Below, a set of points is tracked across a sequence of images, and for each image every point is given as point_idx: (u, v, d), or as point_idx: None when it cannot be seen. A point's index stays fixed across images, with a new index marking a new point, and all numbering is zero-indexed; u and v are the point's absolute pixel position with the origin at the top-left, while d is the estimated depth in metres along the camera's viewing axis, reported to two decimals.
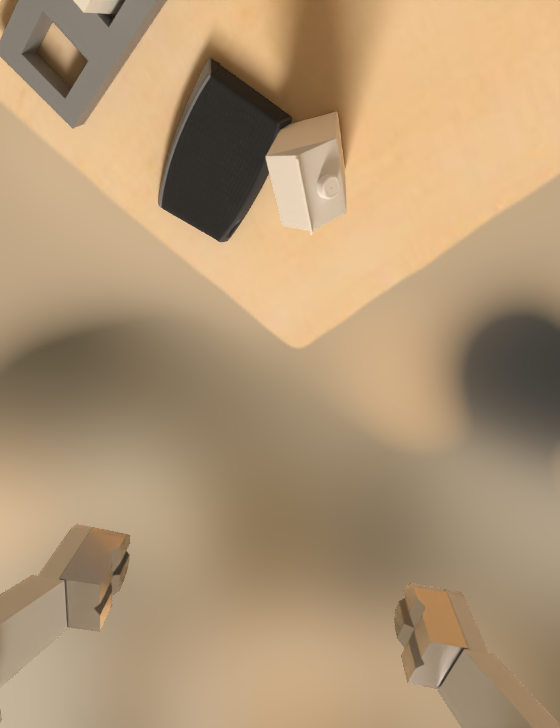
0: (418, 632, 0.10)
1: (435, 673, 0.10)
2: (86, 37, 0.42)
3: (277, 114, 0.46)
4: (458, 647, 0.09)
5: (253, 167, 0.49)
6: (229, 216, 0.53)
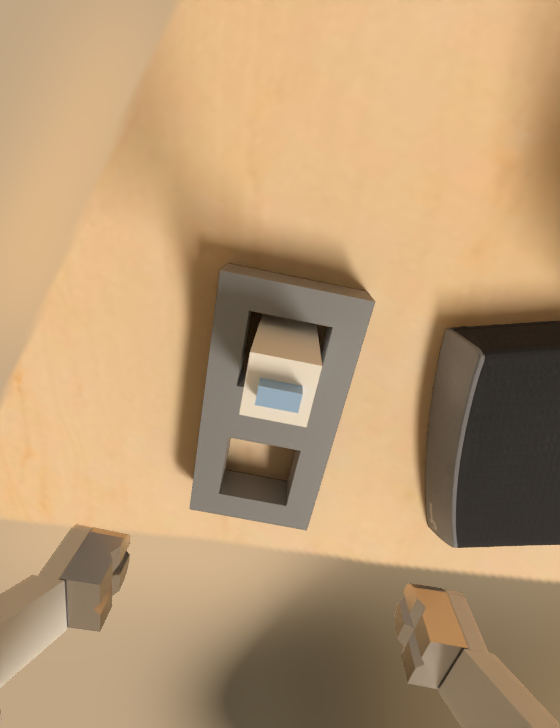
0: (418, 632, 0.10)
1: (435, 673, 0.10)
2: (289, 429, 0.28)
3: None
4: (458, 647, 0.09)
5: None
6: None
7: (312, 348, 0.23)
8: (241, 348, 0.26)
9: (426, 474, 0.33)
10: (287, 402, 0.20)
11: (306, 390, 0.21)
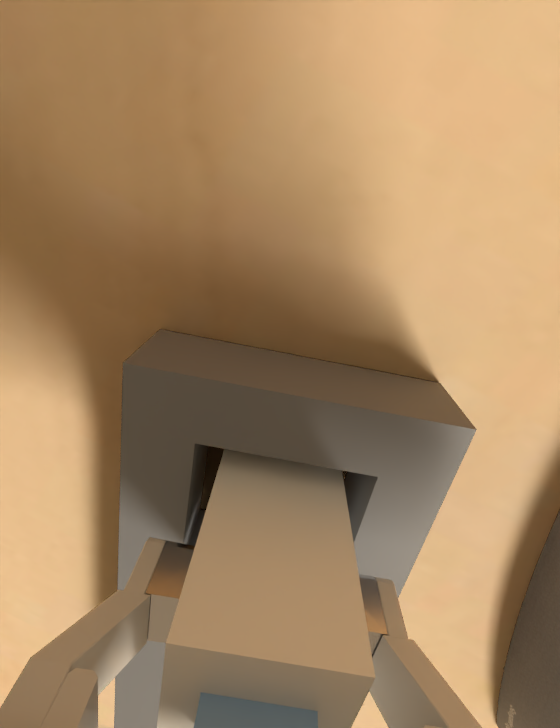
0: None
1: None
2: None
3: None
4: (378, 633, 0.09)
5: None
6: None
7: (338, 561, 0.09)
8: (184, 511, 0.12)
9: (509, 662, 0.19)
10: None
11: (329, 718, 0.08)
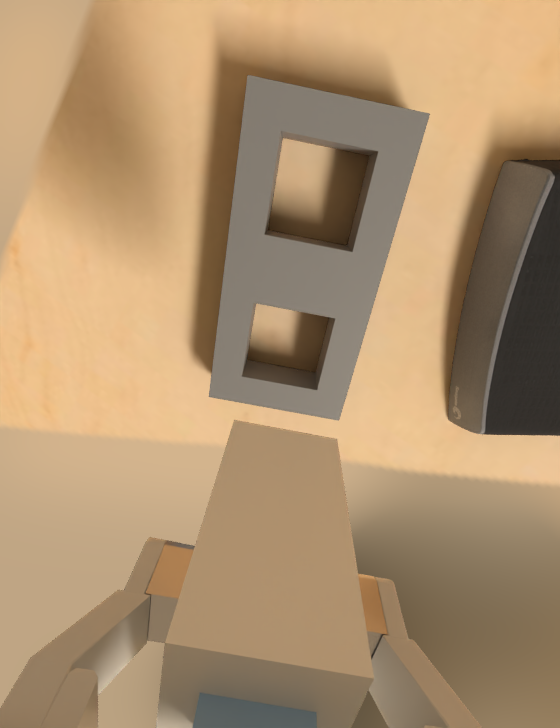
0: None
1: None
2: (323, 290, 0.25)
3: None
4: (378, 633, 0.09)
5: None
6: None
7: (337, 562, 0.09)
8: (271, 183, 0.22)
9: (456, 353, 0.29)
10: None
11: (328, 720, 0.08)
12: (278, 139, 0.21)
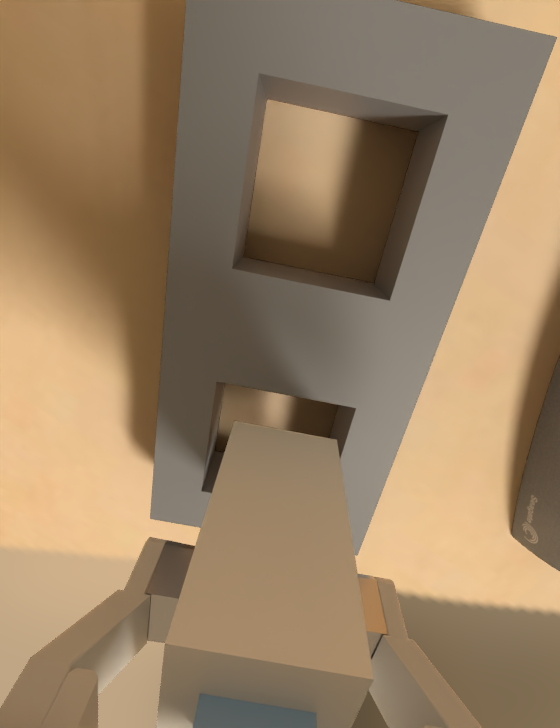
0: None
1: None
2: (336, 363, 0.14)
3: None
4: (378, 633, 0.09)
5: None
6: None
7: (337, 563, 0.09)
8: (241, 176, 0.12)
9: (534, 446, 0.19)
10: None
11: (328, 720, 0.08)
12: (254, 90, 0.11)
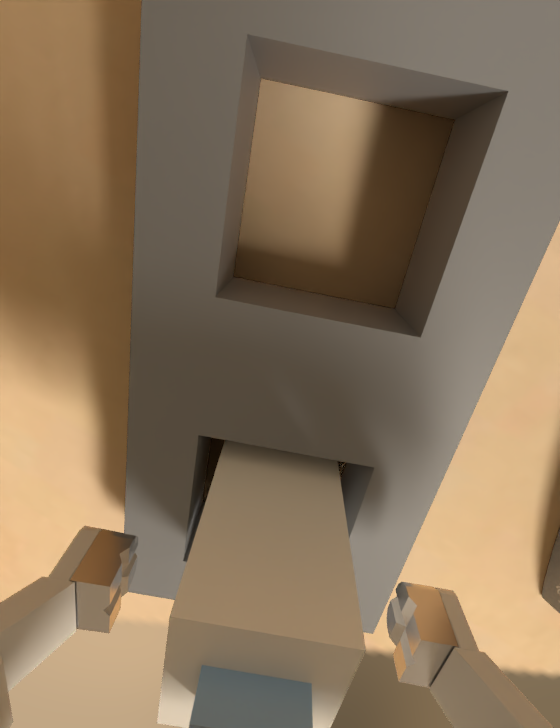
0: (409, 630, 0.10)
1: (426, 671, 0.10)
2: (350, 414, 0.11)
3: None
4: (449, 645, 0.09)
5: None
6: None
7: (332, 546, 0.10)
8: (226, 176, 0.09)
9: None
10: None
11: (322, 691, 0.08)
12: (241, 59, 0.08)
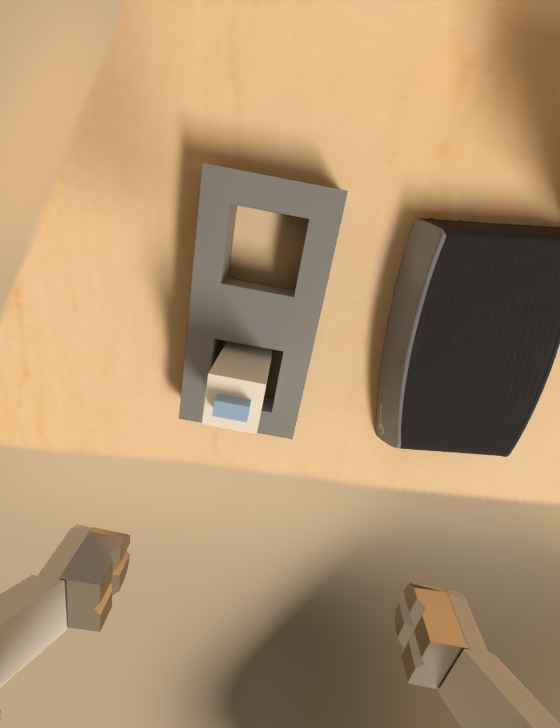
0: (418, 631, 0.10)
1: (435, 673, 0.10)
2: (272, 328, 0.29)
3: (559, 232, 0.27)
4: (458, 647, 0.09)
5: (549, 324, 0.28)
6: (520, 413, 0.31)
7: (262, 369, 0.28)
8: (224, 243, 0.27)
9: (380, 375, 0.33)
10: (237, 413, 0.26)
11: (255, 403, 0.26)
12: (229, 210, 0.27)
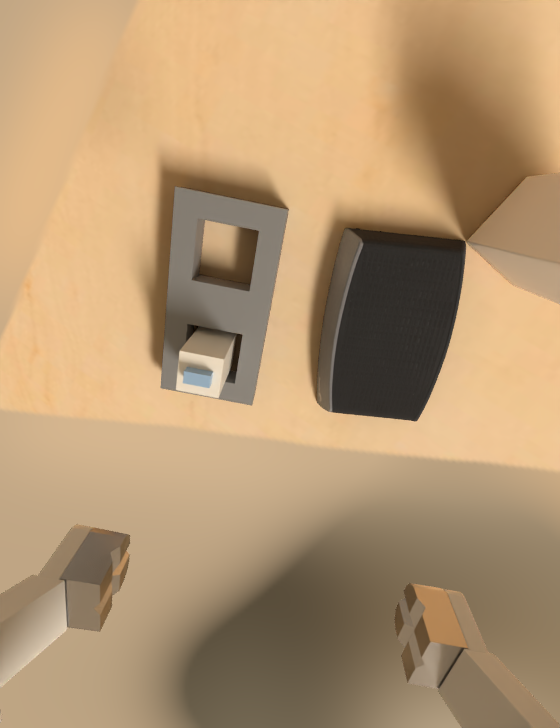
0: (418, 632, 0.10)
1: (435, 673, 0.10)
2: (233, 316, 0.37)
3: (453, 244, 0.35)
4: (458, 647, 0.09)
5: (443, 316, 0.36)
6: (424, 386, 0.39)
7: (223, 348, 0.36)
8: (193, 248, 0.35)
9: (319, 353, 0.41)
10: (202, 381, 0.34)
11: (216, 374, 0.34)
12: (196, 223, 0.34)
